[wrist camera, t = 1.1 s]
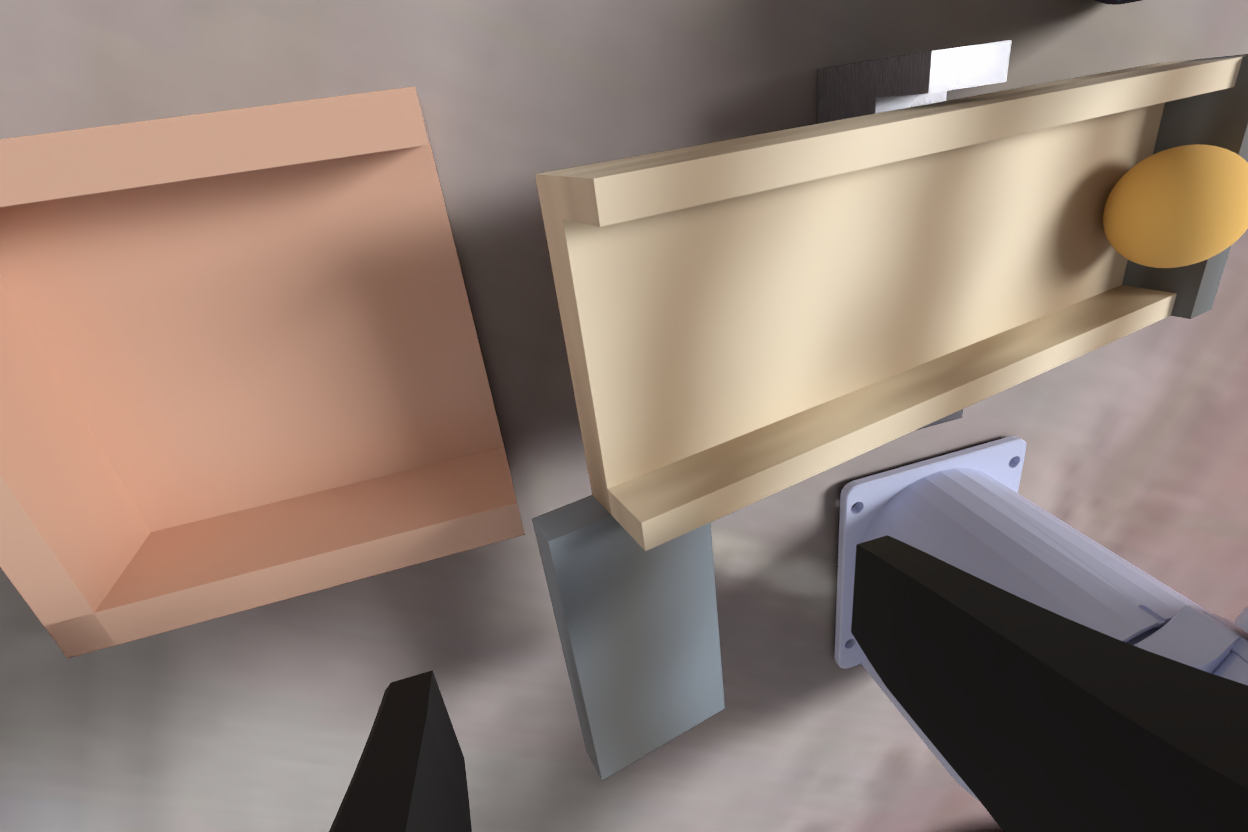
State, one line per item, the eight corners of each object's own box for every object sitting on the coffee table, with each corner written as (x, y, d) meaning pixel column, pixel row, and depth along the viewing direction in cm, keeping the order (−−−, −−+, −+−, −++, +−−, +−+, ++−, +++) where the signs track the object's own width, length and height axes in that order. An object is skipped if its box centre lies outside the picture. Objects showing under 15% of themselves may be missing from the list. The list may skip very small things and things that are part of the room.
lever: (1157, 63, 19) (1291, 49, 16) (1062, 483, 25) (1146, 518, 23) (453, 188, 11) (508, 198, 8) (586, 751, 17) (638, 848, 15)
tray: (510, 470, 19) (524, 534, 16) (132, 564, 17) (67, 658, 14) (418, 95, 15) (414, 86, 12) (-113, 164, 13) (-287, 176, 10)
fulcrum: (866, 365, 21) (961, 417, 17) (813, 378, 21) (900, 434, 17) (882, 60, 17) (1012, 39, 13) (818, 69, 17) (932, 50, 13)
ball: (1117, 248, 20) (1254, 258, 17) (1073, 273, 18) (1217, 288, 16) (1141, 138, 18) (1295, 133, 16) (1096, 155, 17) (1258, 152, 14)
